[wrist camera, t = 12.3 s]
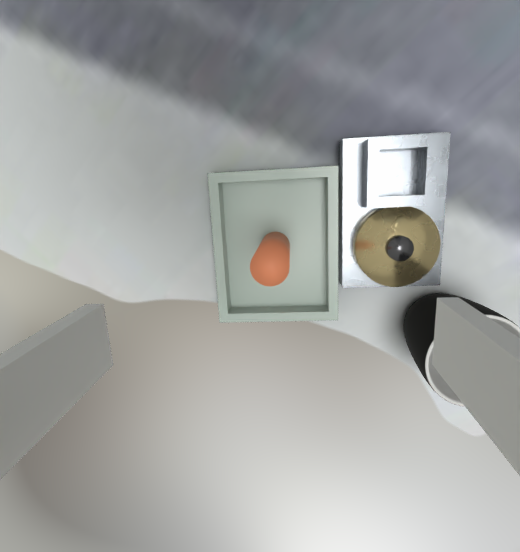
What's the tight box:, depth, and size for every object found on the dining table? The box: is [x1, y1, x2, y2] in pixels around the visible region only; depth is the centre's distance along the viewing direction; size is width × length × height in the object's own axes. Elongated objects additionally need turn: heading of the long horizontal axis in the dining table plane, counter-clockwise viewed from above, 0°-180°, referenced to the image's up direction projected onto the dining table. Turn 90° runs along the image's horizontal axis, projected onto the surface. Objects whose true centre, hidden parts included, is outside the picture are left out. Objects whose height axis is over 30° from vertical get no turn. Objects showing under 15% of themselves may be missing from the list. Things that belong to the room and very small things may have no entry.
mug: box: [404, 294, 520, 407], centre depth 36 cm, size 12×9×10 cm
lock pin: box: [250, 232, 290, 286], centre depth 34 cm, size 3×3×11 cm
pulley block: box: [339, 132, 450, 288], centre depth 36 cm, size 15×10×6 cm, turn 3°
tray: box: [207, 166, 338, 322], centre depth 39 cm, size 16×13×3 cm
